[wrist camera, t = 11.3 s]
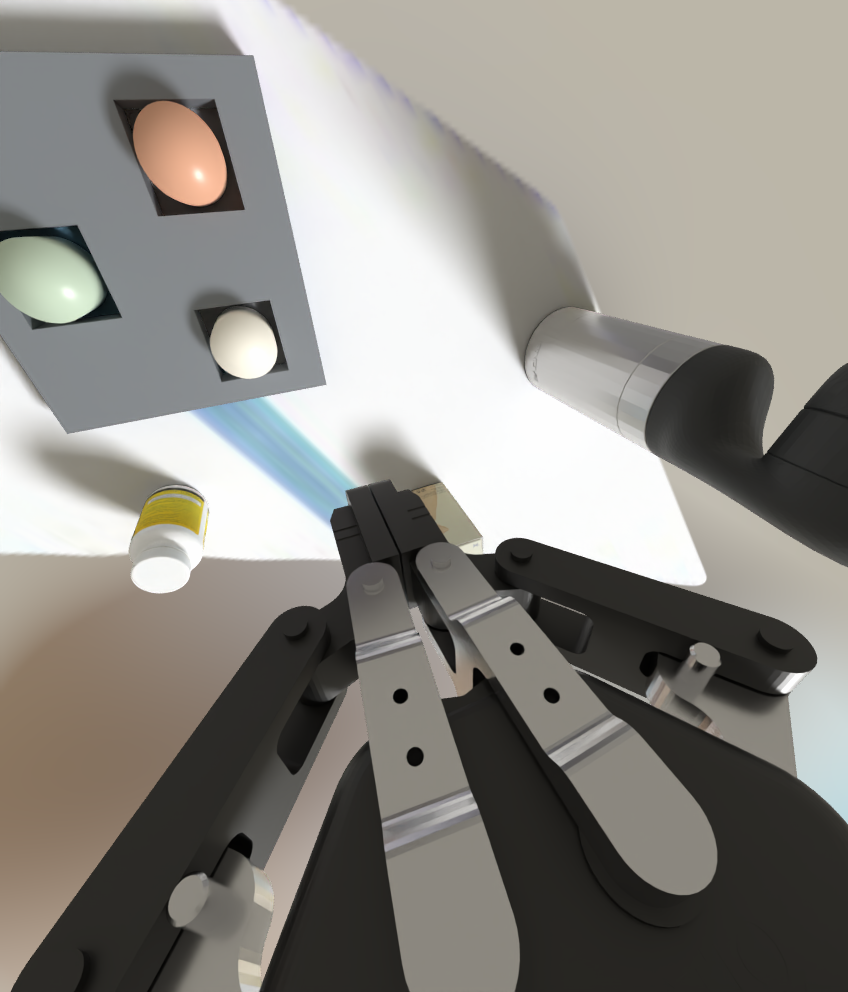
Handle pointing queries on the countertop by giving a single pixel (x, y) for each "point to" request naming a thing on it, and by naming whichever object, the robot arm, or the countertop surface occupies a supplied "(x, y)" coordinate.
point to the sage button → (50, 278)
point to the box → (451, 518)
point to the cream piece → (243, 342)
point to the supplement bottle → (168, 538)
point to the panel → (145, 236)
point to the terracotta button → (180, 153)
